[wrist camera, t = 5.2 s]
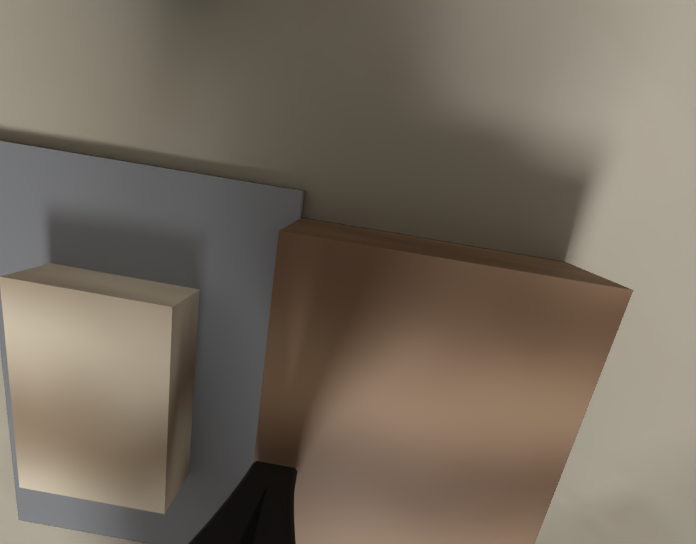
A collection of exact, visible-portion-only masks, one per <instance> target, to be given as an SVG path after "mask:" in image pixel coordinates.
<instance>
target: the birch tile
mask: <svg viewBox="0 0 696 544" xmlns="http://www.w3.org/2000/svg"><path fill="white" fill-rule="evenodd" d="M0 290H1V300H2V311H3V321H4V332H5V342H6V353H7V363H8V374H9V384H10V394H11V405H12V415H13V426H14V436H15V447H16V457H17V468H18V478H19V487H20V488H25V489H31V490H36V491H41V492H47V493H52V494H58V495H63V496H69V497H74V498H80V499H85V500H90V501H96V502H101V503H107V504H112V505H118V506H123V507H129V508H134V509H139V510H145V511H150V512H156V513H161V514H165V512H166V511H167V509H168V507H169V506H170V504H171V503H172V501H173V499H174V498H175V496H176V494H177V493H178V491H179V489H180V488H181V486H182V484H183V483H184V481H185V480H186V478H187V476H188V475H189V462H190V445H191V428H192V411H193V394H194V377H195V360H196V343H197V326H198V309H199V292H200V289H194V288H189V287H183V286H177V285H172V284H166V283H160V282H155V281H149V280H143V279H137V278H132V277H126V276H120V275H115V274H109V273H103V272H98V271H92V270H86V269H81V268H75V267H69V266H64V265H58V264H52V263H49V264H45V265H41V266H38V267H34V268H30V269H26V270H22V271H19V272H15V273H11V274H7V275H3V276H0Z"/></svg>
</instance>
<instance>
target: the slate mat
mask: <svg viewBox="0 0 696 544" xmlns="http://www.w3.org/2000/svg"><path fill="white" fill-rule="evenodd" d="M304 194H305V191H302V190H296V189H290V188H284V187H278V186H272V185H266V184H260V183H254V182H248V181H242V180H236V179H230V178H224V177H218V176H212V175H206V174H200V173H194V172H188V171H182V170H176V169H170V168H164V167H158V166H152V165H146V164H140V163H134V162H128V161H122V160H116V159H110V158H104V157H98V156H92V155H86V154H80V153H74V152H68V151H62V150H56V149H50V148H44V147H38V146H32V145H26V144H20V143H14V142H7V141H1V140H0V276H3V275H7V274H11V273H15V272H19V271H22V270H26V269H30V268H34V267H38V266H41V265H45V264H49V263H52V264H58V265H64V266H69V267H75V268H81V269H86V270H92V271H98V272H103V273H109V274H115V275H120V276H126V277H132V278H137V279H143V280H149V281H155V282H160V283H166V284H172V285H177V286H183V287H189V288H194V289H200V292H199V309H198V326H197V343H196V360H195V377H194V394H193V411H192V428H191V445H190V462H189V475H188V476H187V478H186V480H185V481H184V483H183V484H182V486H181V488H180V489H179V491H178V493H177V494H176V496H175V498H174V499H173V501H172V503H171V504H170V506H169V507H168V509H167V511H166V512H165V514H161V513H156V512H150V511H145V510H139V509H134V508H129V507H123V506H118V505H112V504H107V503H101V502H96V501H90V500H85V499H80V498H74V497H69V496H63V495H58V494H52V493H47V492H41V491H36V490H31V489H25V488H20V487H19V478H18V468H17V457H16V447H15V436H14V426H13V415H12V405H11V394H10V384H9V374H8V363H7V353H6V342H5V332H4V321H3V311H2V300H1V290H0V349H1V358H2V367H3V377H4V386H5V396H6V405H7V415H8V424H9V433H10V443H11V452H12V462H13V471H14V481H15V490H16V499H17V509H18V518H19V520H22V521H27V522H33V523H38V524H44V525H49V526H55V527H60V528H66V529H71V530H77V531H83V532H88V533H94V534H99V535H105V536H110V537H116V538H121V539H127V540H132V541H138V542H143V543H149V544H188V543H189V542H190V541H191V540H192V539H193V538H194V537H195V536H196V535H197V533H198V532H199V531H200V530H201V529H202V528H203V527H204V526H205V525H206V524H207V522H208V521H209V520H210V519H211V518H212V517H213V515H214V514H215V513H216V512H217V511H218V509H219V508H220V507H221V506H222V504H223V503H224V502H225V501H226V500H227V498H228V497H229V496H230V495H231V493H232V492H233V491H234V489H235V488H236V487H237V485H238V484H239V483H240V481H241V480H242V479H243V477H244V476H245V474H246V473H247V471H248V470H249V468H250V467H251V465H252V464H253V462H254V453H255V444H256V435H257V426H258V416H259V407H260V398H261V389H262V380H263V371H264V362H265V352H266V343H267V334H268V325H269V316H270V307H271V298H272V288H273V279H274V270H275V261H276V252H277V243H278V234H279V230H281V229H283V228H284V227H286V226H288V225H290V224H292V223H293V222H295V221H297V220H299V219H300V218H302V210H303V202H304Z"/></svg>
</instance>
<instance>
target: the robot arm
mask: <svg viewBox="0 0 696 544" xmlns="http://www.w3.org/2000/svg"><path fill="white" fill-rule="evenodd" d="M296 478H297V470H296V469H295V468H294V467H289V466H283V465H277V464H272V463H266V462H261V461H256V462H254V463H253V464H252V465H251V467H250V468H249V470H248V471H247V473H246V474H245V476H244V477H243V479H242V480H241V481H240V483H239V484H238V485H237V487H236V488H235V489H234V491H233V492H232V493H231V495H230V496H229V497H228V498H227V500H226V501H225V502H224V503H223V504H222V506H221V507H220V508H219V509H218V511H217V512H216V513H215V514H214V515H213V517H212V518H211V519H210V520H209V521H208V522H207V524H206V525H205V526H204V527H203V528H202V529H201V530H200V531H199V532H198V533H197V535H196V536H195V537H194V538H193V539H192V540H191V541H190V542H189V543H188V544H296V542H295V525H294V491H295V484H296Z"/></svg>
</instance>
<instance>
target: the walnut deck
mask: <svg viewBox="0 0 696 544" xmlns="http://www.w3.org/2000/svg"><path fill="white" fill-rule="evenodd" d="M632 292H633V290H631V289H629V288H627V287H624V286H622V285H619V284H617V283H615V282H612V281H610V280H607V279H605V278H602V277H600V276H598V275H595V274H593V273H590V272H588V271H586V270H583V269H581V268H578V267H576V266H574V265H571V264H569V263H566V262H562V261H556V260H550V259H544V258H538V257H532V256H526V255H520V254H514V253H508V252H502V251H496V250H490V249H485V248H479V247H473V246H467V245H461V244H455V243H449V242H443V241H437V240H431V239H425V238H419V237H413V236H407V235H401V234H395V233H389V232H383V231H377V230H371V229H365V228H359V227H353V226H347V225H341V224H335V223H329V222H323V221H317V220H311V219H305V218H300V219H299V220H297V221H295V222H293V223H292V224H290V225H288V226H286V227H284V228H283V229H281V230H279V234H278V243H277V252H276V261H275V270H274V279H273V288H272V298H271V307H270V316H269V325H268V334H267V343H266V352H265V362H264V371H263V380H262V389H261V398H260V407H259V416H258V426H257V435H256V444H255V453H254V462H256V461H261V462H266V463H272V464H277V465H283V466H289V467H294V468H295V469H296V470H297V478H296V484H295V491H294V525H295V542H296V544H535V541H536V539H537V536H538V534H539V531H540V528H541V526H542V523H543V521H544V518H545V516H546V513H547V510H548V508H549V505H550V503H551V500H552V498H553V495H554V492H555V490H556V487H557V485H558V482H559V480H560V477H561V474H562V472H563V469H564V467H565V464H566V462H567V459H568V456H569V454H570V451H571V449H572V446H573V444H574V441H575V438H576V436H577V433H578V431H579V428H580V426H581V423H582V420H583V418H584V415H585V413H586V410H587V408H588V405H589V402H590V400H591V397H592V395H593V392H594V390H595V387H596V384H597V382H598V379H599V377H600V374H601V372H602V369H603V366H604V364H605V361H606V359H607V356H608V354H609V351H610V348H611V346H612V343H613V341H614V338H615V336H616V333H617V330H618V328H619V325H620V323H621V320H622V318H623V315H624V312H625V310H626V307H627V305H628V302H629V300H630V297H631V294H632ZM254 462H253V463H254Z"/></svg>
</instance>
